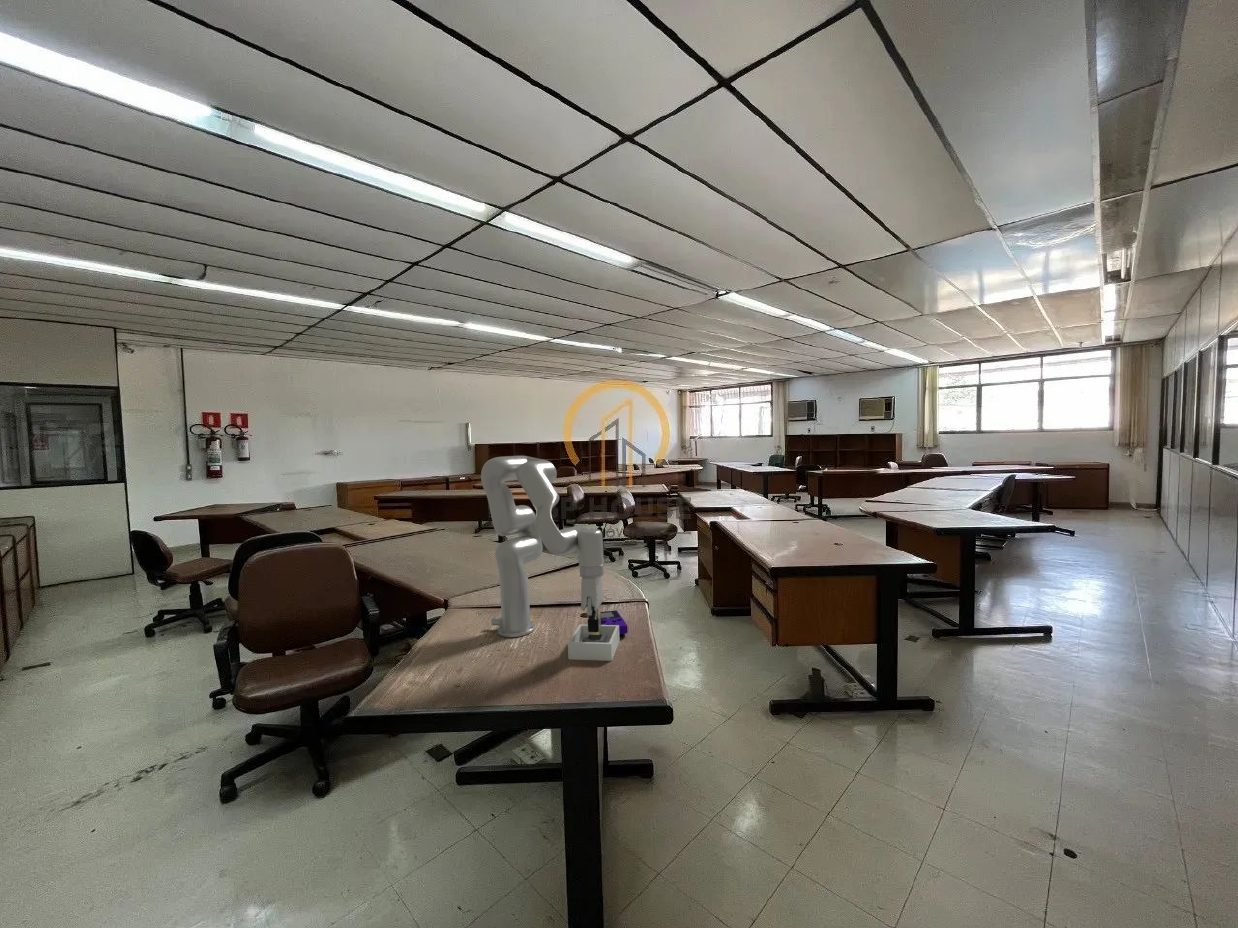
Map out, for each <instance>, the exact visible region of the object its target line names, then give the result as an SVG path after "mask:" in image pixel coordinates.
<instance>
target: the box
mask: <svg viewBox="0 0 1238 928" xmlns="http://www.w3.org/2000/svg"><path fill="white" fill-rule="evenodd" d="M620 640H621V639H620V634H619V625H601V632H600V634H599V635H589V632H588V624H582V623H581V624H578V626H577V628H575V630H574V632H573V634H572V636H571V637H570V639H569V640H568V642H567V653H568V655H567V656H568V657H567V658H568V660H572V661H573V660H576V661H602V662H604V661H607V662H612V661H613V660H614V656H615V654H616V652H617V648H618V646H619V644H620Z"/></svg>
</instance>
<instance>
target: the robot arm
mask: <svg viewBox="0 0 1238 928" xmlns="http://www.w3.org/2000/svg"><path fill="white" fill-rule="evenodd" d="M557 473H558V472H557V469H556V467H555V466H554V464H553V463H552V462H551V461H549V460H547V459H542V458H537V457H532V456H527V455H509V456H508V455H506V456H505V455H504V456H497V457H493V458H491V459H489V460H487V461H486V462H485V463H484V464H483V466H482V469H481V472H480V479H481V484H482V488H483V491H484V493H485V494H486V499H487V502H488V508H489V511H490V515H491V521H492V525H493V528H494V531H495V533H496V534H497V535H498V536H500V537H509V536H512V535H515V534H517V535H518V537H514V538H510V539H506V540H505V541H503V542H501V543H499V544H498V546H497V547H496V549H495V552H494V557H495V561H496V565H497V569H498V576H499V589H500V591H499V592H500V607H501V609H500V611H501V616H500V617H498V616H497V617H491V625H492V626H498V628H497V634H498V635H499V636H500V637H504V638H517V637H523V636H527V635H529V634H531V633H532V632H534V631H535V629H536V624H535V622H533V621H531V612H530V609H531V607H530V606H531V605H530V592H529V587H530V586H529V577H528V574H527V572H526V570H525V568H524V566H523V565H525V564H529V563H531V562H534V561H536V560H538V559H539V558H540V557H541V556H542V554H543V548H544V547H545V548H546V549H547V550H548V551H549V553H550V554H552V555H554V556H556V557H560V556H565V555H567V554H570V553H573V552H578V567H579V569H578V570H579V577H581V581H580V582H581V586H580V589H581V590H580V592H581V593H580V595H581V596H580V602H581V604H580V607H581V611H585V610H586V617H587V625H588V632H598V631H599V625H598V619H597V609H598V608H599V606H600V607H601V605H602V602H603V599H604V591H603V579H602V577H603V576H604V575H605V561H604V542H603V541H604V540H603V533H602V531H601V529H598V528H585V527H582V526H577V525H575V526H571V527H567V528H562V529H559V528H558V527H557V525H556V523H555V522H554V520H553V515H552V510H553V508H554V507H555V506H556V505H557V504H558V503H559V501H560V494H558V492H557V490H556V489H555V487H554V486H553V484H552V483H554V482H555V481H556V479H557V475H558V474H557ZM510 481H518V482H519V484H520V486H521V487H522V489H523V491H524V492H525V494H526V496H527V497H528V499H529V500H530V502H531V504H532V506H533V507H534V509H535V510H536V511H535V512H534V511H533V509H532V508H531V507H530V506H529V505H525V504H523V505H522V504H520V505H516V503H515V500H514V495H513V493H512V491H511V489H510V488H509V487H508V486H507V485H506V483H505V482H510ZM543 545H544V547H543ZM592 607H595V608H594V609H592ZM592 611H594V613H592ZM600 617H601V614H600Z"/></svg>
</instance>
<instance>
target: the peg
mask: <svg viewBox="0 0 1238 928" xmlns="http://www.w3.org/2000/svg"><path fill="white" fill-rule="evenodd" d="M594 608H595V607H592V609H594ZM600 612H601V605H600V606H599V608H598V609H597V619H598V625H599V631H598V632H589V635H599V634H600V632H601V617H600ZM592 613H594V611H592Z"/></svg>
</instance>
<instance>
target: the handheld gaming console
mask: <svg viewBox="0 0 1238 928" xmlns="http://www.w3.org/2000/svg"><path fill="white" fill-rule="evenodd" d="M600 614H601V625H619V635H626V634H628V623H626V621H625V620H624V618H623V617H622V615H621V614H620V613H619V612H618V610H615V609H614V610H608V611H600Z"/></svg>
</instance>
